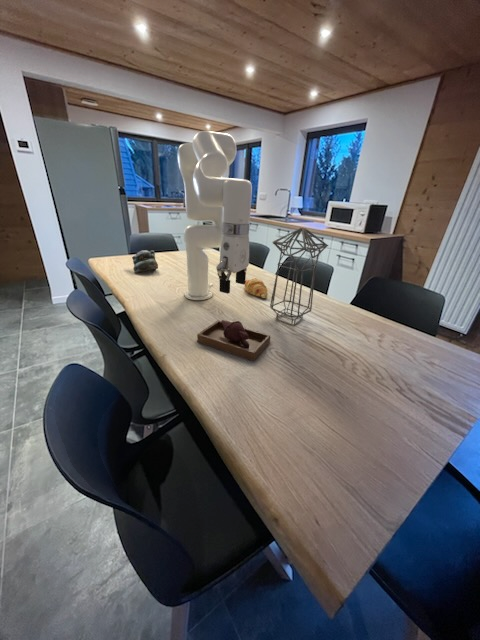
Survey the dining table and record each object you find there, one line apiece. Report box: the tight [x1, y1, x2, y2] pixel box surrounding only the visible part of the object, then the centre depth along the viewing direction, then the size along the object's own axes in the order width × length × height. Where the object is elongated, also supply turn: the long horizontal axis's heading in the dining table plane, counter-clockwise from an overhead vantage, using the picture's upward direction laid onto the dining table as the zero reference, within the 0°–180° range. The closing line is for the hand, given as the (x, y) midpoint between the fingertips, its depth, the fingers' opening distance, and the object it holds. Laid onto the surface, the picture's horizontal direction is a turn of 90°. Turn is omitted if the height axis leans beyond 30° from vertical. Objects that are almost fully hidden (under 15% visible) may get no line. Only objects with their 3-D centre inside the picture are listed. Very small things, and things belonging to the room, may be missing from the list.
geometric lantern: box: [269, 227, 329, 326], centre depth 98 cm, size 16×16×35 cm
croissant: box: [244, 278, 268, 299], centre depth 131 cm, size 21×10×8 cm, turn 26°
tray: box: [196, 319, 271, 362], centre depth 87 cm, size 13×21×3 cm, turn 62°
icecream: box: [220, 319, 249, 348], centre depth 86 cm, size 7×7×15 cm
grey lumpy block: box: [131, 248, 159, 274], centre depth 155 cm, size 15×12×14 cm
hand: (232, 287), depth 81 cm, fingers open, 9 cm apart
